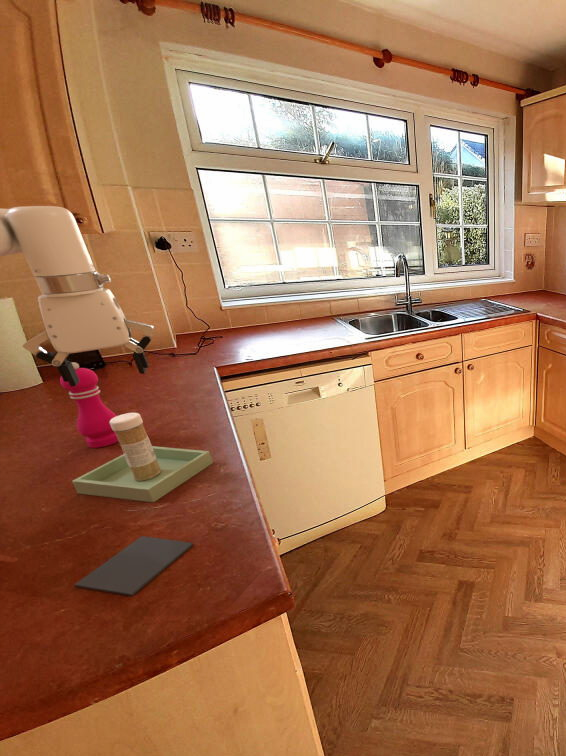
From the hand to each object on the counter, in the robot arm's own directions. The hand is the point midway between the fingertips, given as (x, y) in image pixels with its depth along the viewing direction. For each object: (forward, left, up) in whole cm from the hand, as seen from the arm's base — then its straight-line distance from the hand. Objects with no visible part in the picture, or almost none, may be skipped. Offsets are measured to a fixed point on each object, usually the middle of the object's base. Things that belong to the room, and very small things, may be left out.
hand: (110, 377), depth 78 cm
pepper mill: (-25, +11, -22) cm, 35 cm away
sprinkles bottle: (0, 0, -22) cm, 22 cm away
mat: (+21, -20, -22) cm, 36 cm away
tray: (0, 0, -22) cm, 22 cm away
